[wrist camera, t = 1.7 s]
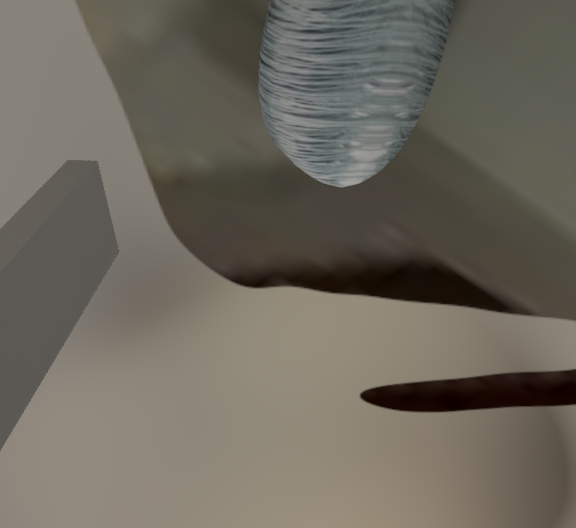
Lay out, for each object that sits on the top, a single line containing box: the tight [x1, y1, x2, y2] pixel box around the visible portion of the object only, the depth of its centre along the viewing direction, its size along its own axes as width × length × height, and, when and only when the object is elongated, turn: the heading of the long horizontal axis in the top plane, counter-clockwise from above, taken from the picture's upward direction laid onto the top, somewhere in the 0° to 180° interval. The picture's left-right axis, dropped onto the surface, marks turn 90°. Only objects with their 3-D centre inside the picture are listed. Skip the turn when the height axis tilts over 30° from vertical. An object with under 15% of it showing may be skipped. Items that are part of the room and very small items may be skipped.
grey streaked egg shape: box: [258, 0, 455, 187], centre depth 27 cm, size 14×10×10 cm
